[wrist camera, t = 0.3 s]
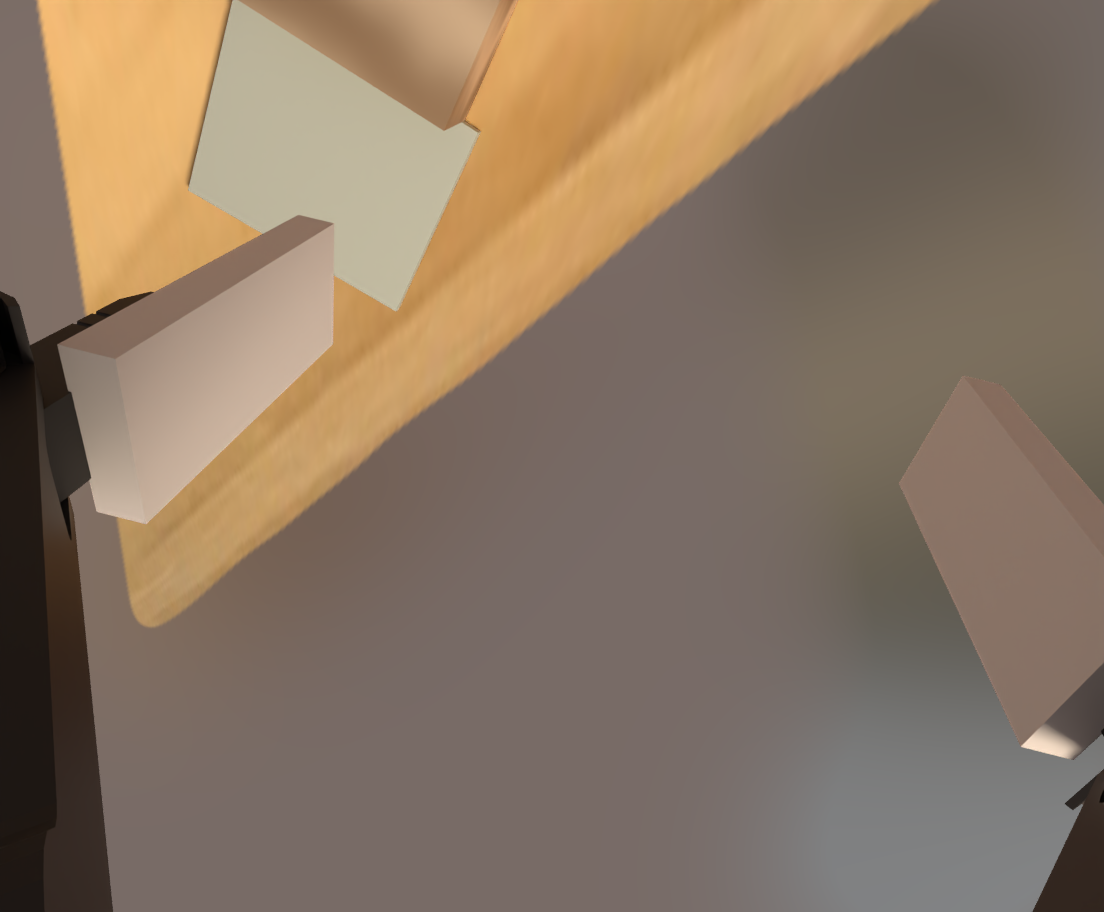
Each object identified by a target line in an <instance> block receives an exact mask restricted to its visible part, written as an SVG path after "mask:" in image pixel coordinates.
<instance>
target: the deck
mask: <svg viewBox="0 0 1104 912" xmlns="http://www.w3.org/2000/svg"><path fill="white" fill-rule="evenodd" d="M238 1H240V2H242V3H243V4H245V5H246V6H248V7H250V8H251V9H253V10H254V11H256V12H257V13H259V14H261V15H262V16H264V17H265V18H267V19H268V20H270V21H272V22H273V23H275V24H276V25H278V26H279V27H281V28H283V29H284V30H286V31H287V32H289V33H290V34H292V35H294V36H295V37H297V38H298V39H300V40H301V41H303V42H305V43H306V44H308V45H309V46H311V47H312V48H314V49H316V50H317V51H319V52H320V53H322V54H324V55H325V56H327V57H328V58H330V59H331V60H333V61H335V62H336V63H338V64H339V65H341V66H342V67H344V68H346V69H347V70H349V71H350V72H352V73H353V74H355V75H357V76H358V77H360V78H361V79H363V80H364V81H366V82H368V83H369V84H371V85H372V86H374V87H375V88H377V89H379V90H380V91H382V92H383V93H385V94H386V95H388V96H390V97H391V98H393V99H394V100H396V101H397V102H399V103H401V104H402V105H404V106H405V107H407V108H409V109H410V110H412V111H413V112H415V113H416V114H418V115H420V116H421V117H423V118H424V119H426V120H427V121H429V122H431V123H432V124H434V125H435V126H437V127H438V128H440V129H442V130H443V131H445V130H447V129H449V128H451V127H453V126H455V125H457V124H459V123H461V122H463V121H465V119H466V117H467V114H468V112H469V110H470V108H471V105H472V103H473V101H474V99H475V96H476V94H477V92H478V90H479V87H480V85H481V83H482V81H483V78H484V76H485V74H486V72H487V69H488V67H489V65H490V63H491V60H492V58H493V56H494V54H495V51H496V49H497V47H498V45H499V42H500V40H501V38H502V36H503V33H504V31H505V29H506V27H507V24H508V22H509V20H510V18H511V15H512V13H513V11H514V9H515V6H516V4H517V2H518V0H238Z"/></svg>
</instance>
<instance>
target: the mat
mask: <svg viewBox="0 0 1104 912" xmlns="http://www.w3.org/2000/svg"><path fill="white" fill-rule="evenodd" d="M480 133H481V131H480V130H478V129H476V128H475V127H473V126H472V125H470V124H469V123H467V122H465V121H463V122H461V123H459V124H457V125H455V126H453V127H451V128H449V129H447V130H445V131H443V130H442V129H440V128H438V127H437V126H435V125H434V124H432V123H431V122H429V121H427V120H426V119H424V118H423V117H421V116H420V115H418V114H416V113H415V112H413V111H412V110H410V109H409V108H407V107H405V106H404V105H402V104H401V103H399V102H397V101H396V100H394V99H393V98H391V97H390V96H388V95H386V94H385V93H383V92H382V91H380V90H379V89H377V88H375V87H374V86H372V85H371V84H369V83H368V82H366V81H364V80H363V79H361V78H360V77H358V76H357V75H355V74H353V73H352V72H350V71H349V70H347V69H346V68H344V67H342V66H341V65H339V64H338V63H336V62H335V61H333V60H331V59H330V58H328V57H327V56H325V55H324V54H322V53H320V52H319V51H317V50H316V49H314V48H312V47H311V46H309V45H308V44H306V43H305V42H303V41H301V40H300V39H298V38H297V37H295V36H294V35H292V34H290V33H289V32H287V31H286V30H284V29H283V28H281V27H279V26H278V25H276V24H275V23H273V22H272V21H270V20H268V19H267V18H265V17H264V16H262V15H261V14H259V13H257V12H256V11H254V10H253V9H251V8H250V7H248V6H246V5H245V4H243V3H242V2H240V1H238V0H233V1H232V5H231V9H230V14H229V18H228V22H227V26H226V31H225V35H224V39H223V43H222V48H221V52H220V56H219V61H218V65H217V69H216V73H215V78H214V82H213V86H212V90H211V95H210V99H209V103H208V107H207V112H206V116H205V120H204V125H203V129H202V133H201V137H200V142H199V146H198V150H197V154H196V159H195V163H194V167H193V172H192V176H191V180H190V184H189V189H188V190H189V191H190V192H192V193H194V194H195V195H197V196H199V197H201V198H202V199H204V200H206V201H207V202H209V203H211V204H213V205H214V206H216V207H218V208H219V209H221V210H223V211H225V212H226V213H228V214H230V215H231V216H233V217H235V218H237V219H238V220H240V221H242V222H243V223H245V224H247V225H249V226H250V227H252V228H254V229H255V230H257V231H259V232H261V233H262V234H264V233H265V232H267V231H269V230H271V229H273V228H275V227H277V226H278V225H280V224H282V223H284V222H286V221H288V220H290V219H291V218H293V217H295V216H297V215H302V216H306V217H310V218H314V219H318V220H322V221H326V222H331V223H334V276H336V277H338V278H339V279H341V280H343V281H345V282H346V283H348V284H350V285H351V286H353V287H355V288H357V289H358V290H360V291H362V292H364V293H365V294H367V295H369V296H370V297H372V298H374V299H376V300H377V301H379V302H381V303H382V304H384V305H386V306H388V307H389V308H391V309H393V310H394V311H397V310H398V309H399V308H400V306H401V304H402V302H403V299H404V297H405V295H406V293H407V291H408V289H409V286H410V284H411V282H412V280H413V278H414V276H415V273H416V271H417V269H418V267H419V265H420V263H421V260H422V258H423V256H424V254H425V252H426V250H427V247H428V245H429V243H430V241H431V239H432V237H433V234H434V232H435V230H436V228H437V226H438V224H439V221H440V219H441V217H442V215H443V213H444V211H445V208H446V206H447V204H448V202H449V200H450V198H451V195H452V193H453V191H454V189H455V187H456V185H457V182H458V180H459V178H460V176H461V174H462V172H463V169H464V167H465V165H466V163H467V161H468V159H469V156H470V154H471V152H472V150H473V148H474V146H475V143H476V141H477V139H478V137H479V135H480Z"/></svg>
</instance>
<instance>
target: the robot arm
mask: <svg viewBox="0 0 1104 912" xmlns="http://www.w3.org/2000/svg"><path fill="white" fill-rule="evenodd" d="M333 292H334V223H331V222H326V221H322V220H318V219H314V218H310V217H306V216H302V215H297V216H295V217H293V218H291V219H290V220H288V221H286V222H284V223H282V224H280V225H278V226H277V227H275V228H273V229H271V230H269V231H267V232H265V233H264V234H262V235H260V236H258V237H256V238H254V239H252V240H251V241H249V242H247V243H245V244H243V245H241V246H239V247H238V248H236V249H234V250H232V251H230V252H228V253H226V254H225V255H223V256H221V257H219V258H217V259H215V260H213V261H212V262H210V263H208V264H206V265H204V266H202V267H200V268H199V269H197V270H195V271H193V272H191V273H189V274H187V275H186V276H184V277H182V278H180V279H178V280H176V281H174V282H172V283H171V284H169V285H167V286H165V287H163V288H161V289H159V290H158V291H156V292H147V293H143V294H139V295H135V296H131V297H127V298H123V299H119V300H117V301H115V302H113V303H111V304H109V305H107V306H105V307H104V308H102V309H100V310H98V311H96V314H90V315H88V316H86V317H84V318H82V319H80V320H78V321H77V325H76V324H71V325H69V326H67V327H65V328H63V329H61V330H59V331H57V332H56V333H53V334H51V335H49V336H48V337H46V338H44V339H42V340H40V341H38V342H36V343H34V344H32V345H29V341H28V337H27V333H26V329H25V325H24V321H23V318H22V314H21V310H20V306H19V304H18V303H17V301H16V300H15V298H14V297H11V296H9V295H7V294H5V293H3V292H1V291H0V912H113V906H112V897H111V886H110V876H109V867H108V856H107V846H106V836H105V825H104V815H103V805H102V795H101V785H100V775H99V766H98V755H97V745H96V735H95V725H94V714H93V704H92V694H91V685H90V673H89V664H88V653H87V644H86V633H85V623H84V613H83V603H82V593H81V582H80V573H79V563H78V552H77V543H76V532H75V521H74V513H73V509H72V506H71V502H70V498H69V496H70V495H71V494H72V493H73V492H74V491H76V490H77V489H78V488H80V487H81V486H82V485H83V484H85V483H86V482H87V481H88V480H89V481H90V486H91V490H92V494H93V498H94V502H95V507H96V511H97V512H100V513H104V514H108V515H112V516H116V517H120V518H123V519H127V520H131V521H135V522H139V523H143V524H147V523H148V522H149V521H150V520H151V519H152V518H153V517H154V516H155V515H156V514H157V513H158V512H159V511H160V510H161V509H162V508H163V507H164V506H165V505H167V504H168V503H169V502H170V501H171V500H172V499H173V498H174V497H175V496H176V495H177V494H178V493H179V492H180V491H181V490H182V489H183V488H184V487H185V486H186V485H187V484H188V483H189V482H190V481H191V480H192V479H193V478H195V477H196V476H197V475H198V474H199V473H200V472H201V471H202V470H203V469H204V468H205V467H206V466H207V465H208V464H209V463H210V462H211V461H212V460H213V459H214V458H215V457H216V456H217V455H218V454H219V453H220V452H221V451H223V450H224V449H225V448H226V447H227V446H228V445H229V444H230V443H231V442H232V441H233V440H234V439H235V438H236V437H237V436H238V435H239V434H240V433H241V432H242V431H243V430H244V429H245V428H246V427H247V426H248V425H249V424H251V423H252V422H253V421H254V420H255V419H256V418H257V417H258V416H259V415H260V414H261V413H262V412H263V411H264V410H265V409H266V408H267V407H268V406H269V405H270V404H271V403H272V402H273V401H274V400H275V399H276V398H277V397H279V396H280V395H281V394H282V393H283V392H284V391H285V390H286V389H287V388H288V387H289V386H290V385H291V384H292V383H293V382H294V381H295V380H296V379H297V378H298V377H299V376H300V375H301V374H302V373H303V372H304V371H305V370H307V369H308V368H309V367H310V366H311V365H312V364H313V363H314V362H315V361H316V360H317V359H318V358H319V357H320V356H321V355H322V354H323V353H324V352H325V351H326V350H327V349H328V348H329V347H330V346H331V345H332V344H333ZM899 484H900V487H901V488H902V491H903V493H904V495H905V498H906V500H907V502H908V504H909V506H910V508H911V510H912V513H913V515H914V517H915V519H916V521H917V523H918V526H919V528H920V530H921V532H922V534H923V536H924V539H925V541H926V543H927V545H928V547H929V549H930V551H931V554H932V556H933V558H934V560H935V562H936V564H937V567H938V569H939V571H940V573H941V575H942V577H943V579H944V582H945V584H946V586H947V588H948V590H949V593H950V595H951V597H952V599H953V601H954V603H955V606H956V608H957V610H958V612H959V614H960V616H961V619H962V621H963V623H964V625H965V627H966V629H967V631H968V634H969V636H970V638H971V640H972V642H973V644H974V647H975V649H976V651H977V653H978V655H979V657H980V660H981V662H982V664H983V666H984V668H985V670H986V673H987V675H988V677H989V679H990V681H991V683H992V685H993V688H994V690H995V692H996V694H997V696H998V698H999V700H1000V703H1001V705H1002V707H1003V709H1004V711H1005V713H1006V716H1007V718H1008V720H1009V722H1010V724H1011V726H1012V729H1013V731H1014V733H1015V735H1016V737H1017V739H1018V742H1019V744H1020V746H1021V747H1024V748H1028V749H1032V750H1036V751H1040V752H1044V753H1048V754H1052V755H1056V756H1060V757H1063V758H1068V759H1072V760H1074V759H1075V758H1076V757H1077V756H1078V755H1080V754H1081V753H1082V752H1083V751H1084V750H1085V749H1086V748H1087V747H1088V746H1089V745H1090V744H1091V743H1092V742H1094V741H1095V739H1097V738H1098V737H1099V736H1100V735H1101V734H1103V736H1104V505H1103V504H1102V502H1101V501H1100V500H1099V499H1098V498H1097V497H1096V495H1095V494H1094V493H1093V492H1092V491H1091V490H1090V488H1089V487H1088V486H1087V485H1086V484H1085V483H1084V481H1083V480H1082V479H1081V478H1080V477H1079V476H1078V475H1077V473H1076V472H1075V471H1074V470H1073V469H1072V467H1071V466H1070V465H1069V464H1068V463H1067V462H1066V460H1065V459H1064V458H1063V457H1062V456H1061V455H1060V453H1059V452H1058V451H1057V450H1056V449H1055V448H1054V446H1053V445H1052V444H1051V443H1050V442H1049V441H1048V439H1047V438H1046V437H1045V436H1044V435H1043V434H1042V433H1041V431H1040V430H1039V429H1038V428H1037V427H1036V426H1035V424H1034V423H1033V422H1032V421H1031V420H1030V418H1029V417H1028V416H1027V415H1026V414H1025V413H1024V411H1023V410H1022V409H1021V408H1020V407H1019V406H1018V404H1017V403H1016V402H1015V401H1014V400H1013V398H1012V397H1011V396H1010V395H1009V394H1008V393H1007V391H1006V390H1005V389H1004V388H1003V387H1002V386H1001V385H1000V384H996V383H992V382H988V381H984V380H980V379H975V378H971V377H967V376H962V378H961V380H960V382H959V383H958V385H957V386H956V388H955V390H954V392H953V393H952V395H951V397H950V398H949V400H948V402H947V403H946V405H945V407H944V408H943V410H942V412H941V413H940V415H939V417H938V418H937V420H936V422H935V423H934V425H933V427H932V429H931V430H930V432H929V434H928V435H927V437H926V439H925V440H924V442H923V444H922V445H921V447H920V449H919V451H918V452H917V454H916V455H915V457H914V459H913V461H912V462H911V464H910V466H909V467H908V469H907V471H906V472H905V474H904V476H903V477H902V479H901V481H900V483H899ZM1065 804H1066V805H1067V806H1068V807H1069V808H1071V809H1072V810H1074V809H1075V808H1076V807H1078V806H1079V805H1081V804H1083V807H1082V809H1081V811H1080V813H1079V815H1078V817H1077V819H1076V821H1075V823H1074V826H1073V828H1072V830H1071V832H1070V834H1069V836H1068V838H1067V840H1066V842H1065V844H1064V847H1063V849H1062V851H1061V853H1060V855H1059V857H1058V859H1057V861H1056V863H1055V866H1054V868H1053V870H1052V872H1051V874H1050V876H1049V878H1048V880H1047V883H1046V885H1045V887H1044V889H1043V891H1042V893H1041V895H1040V897H1039V899H1038V901H1037V903H1036V905H1035V908H1034V910H1033V912H1104V769H1103V770H1102V771H1101V772H1100V773H1099V774H1098V775H1097V776H1095V777H1094V778H1093V779H1092V780H1091V781H1090V782H1089V783H1088V784H1086V785H1085V786H1084V787H1083V788H1082V789H1081V790H1080V791H1078V792H1077V793H1076V794H1075V795H1074V796H1073V797H1072V798H1070V799H1069V800H1068V801H1067V802H1066V803H1065Z"/></svg>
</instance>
